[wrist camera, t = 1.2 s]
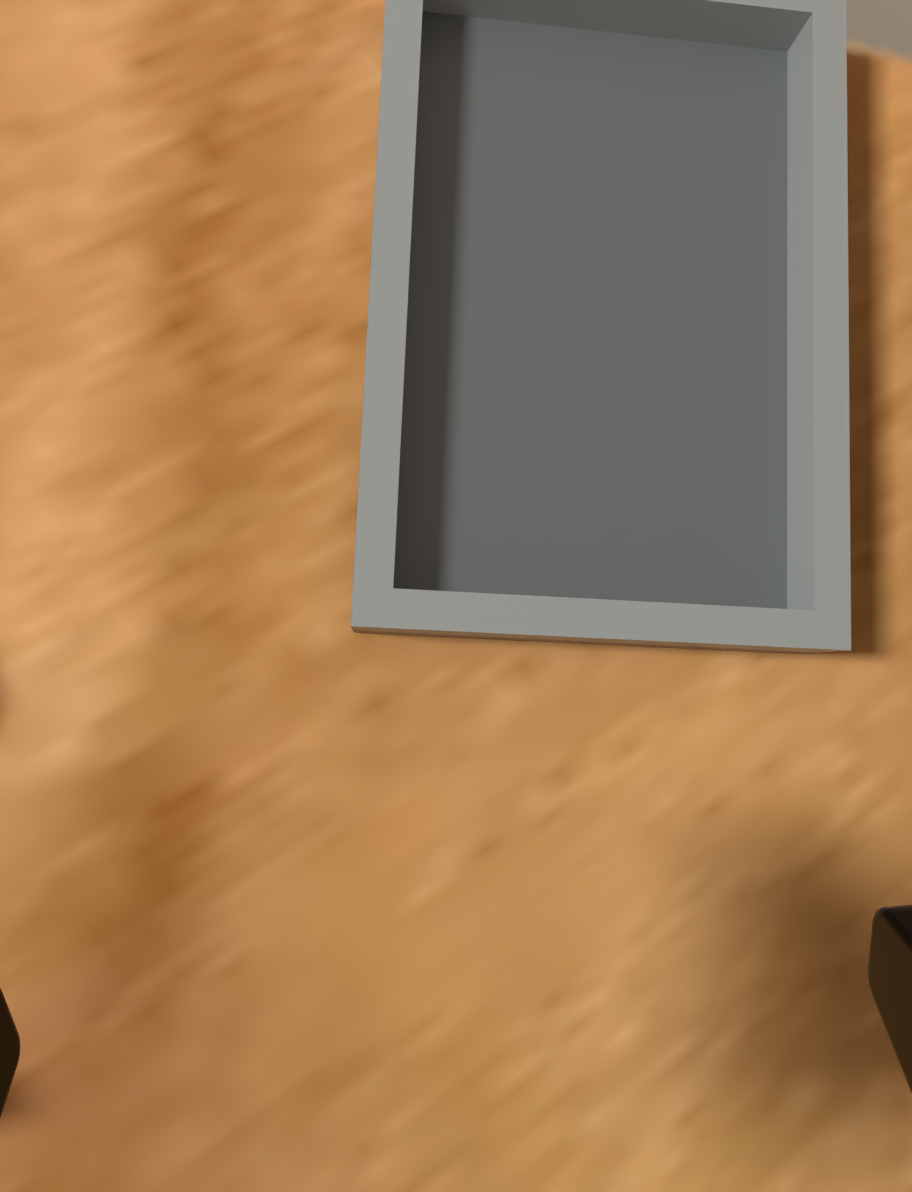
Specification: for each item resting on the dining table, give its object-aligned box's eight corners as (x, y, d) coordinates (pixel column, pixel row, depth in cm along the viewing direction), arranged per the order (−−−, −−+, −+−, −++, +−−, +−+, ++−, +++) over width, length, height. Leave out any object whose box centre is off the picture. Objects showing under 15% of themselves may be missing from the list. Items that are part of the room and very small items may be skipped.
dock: (803, 48, 27) (846, -16, 24) (804, 653, 25) (851, 650, 22) (388, 3, 26) (389, -70, 23) (353, 632, 24) (350, 626, 21)
